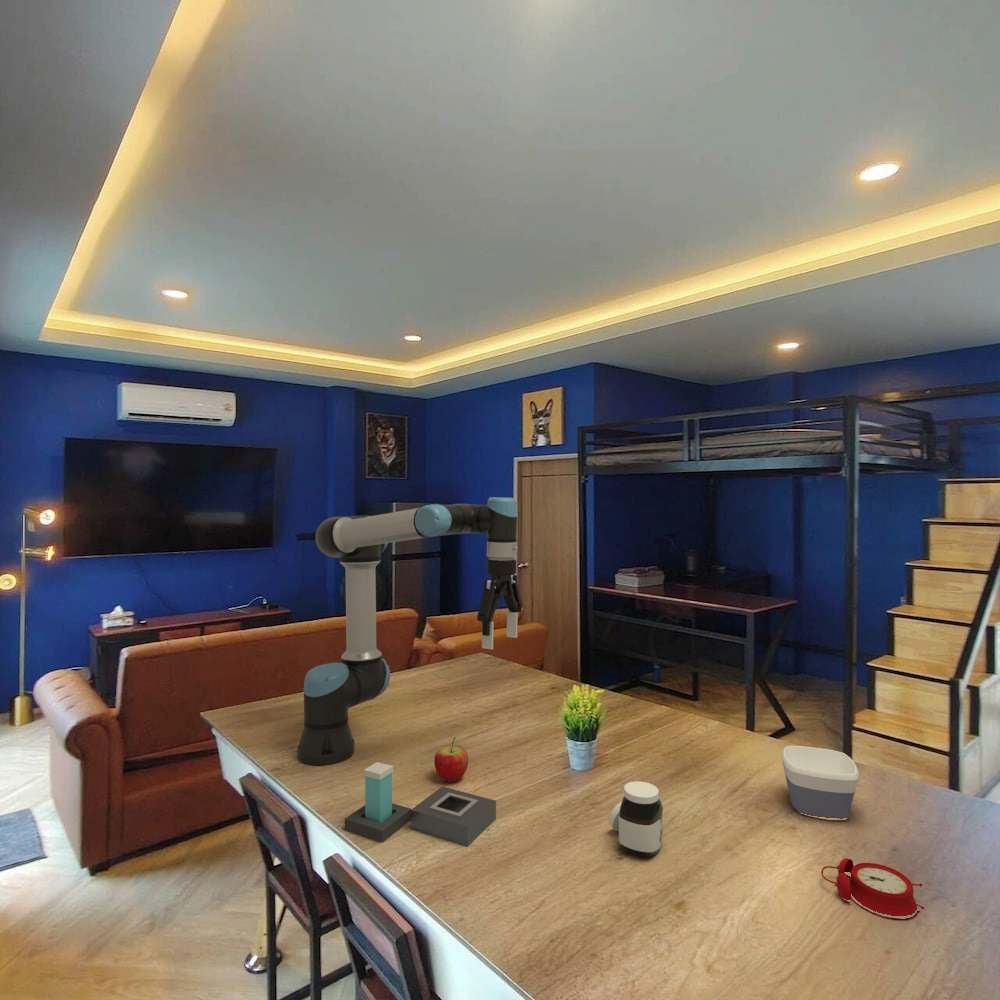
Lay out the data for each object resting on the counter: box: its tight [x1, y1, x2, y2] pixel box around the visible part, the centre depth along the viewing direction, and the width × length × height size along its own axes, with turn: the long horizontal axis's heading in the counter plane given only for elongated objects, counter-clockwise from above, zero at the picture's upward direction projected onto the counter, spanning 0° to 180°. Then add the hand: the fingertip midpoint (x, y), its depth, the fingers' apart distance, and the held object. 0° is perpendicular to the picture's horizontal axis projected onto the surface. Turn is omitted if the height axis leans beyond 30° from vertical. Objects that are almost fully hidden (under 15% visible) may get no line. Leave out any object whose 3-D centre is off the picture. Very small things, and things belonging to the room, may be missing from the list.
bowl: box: [781, 745, 860, 819], centre depth 139 cm, size 15×15×11 cm
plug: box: [363, 761, 394, 823], centre depth 131 cm, size 4×4×12 cm
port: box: [410, 786, 497, 847], centre depth 131 cm, size 14×12×4 cm
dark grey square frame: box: [344, 802, 412, 843], centre depth 131 cm, size 10×10×2 cm
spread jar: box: [608, 780, 664, 858], centre depth 125 cm, size 12×11×12 cm
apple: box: [433, 736, 469, 783], centre depth 152 cm, size 8×8×10 cm
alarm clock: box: [820, 857, 925, 916], centre depth 108 cm, size 10×6×15 cm
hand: (500, 642), depth 154 cm, fingers open, 13 cm apart
